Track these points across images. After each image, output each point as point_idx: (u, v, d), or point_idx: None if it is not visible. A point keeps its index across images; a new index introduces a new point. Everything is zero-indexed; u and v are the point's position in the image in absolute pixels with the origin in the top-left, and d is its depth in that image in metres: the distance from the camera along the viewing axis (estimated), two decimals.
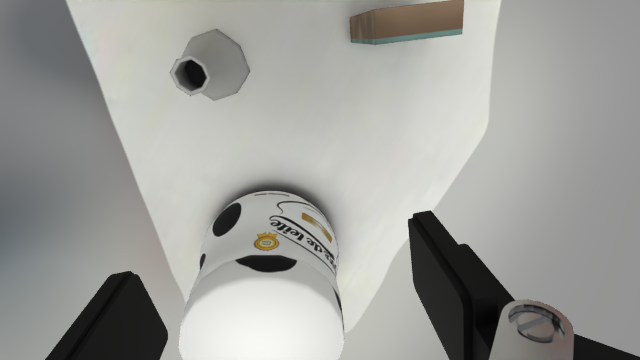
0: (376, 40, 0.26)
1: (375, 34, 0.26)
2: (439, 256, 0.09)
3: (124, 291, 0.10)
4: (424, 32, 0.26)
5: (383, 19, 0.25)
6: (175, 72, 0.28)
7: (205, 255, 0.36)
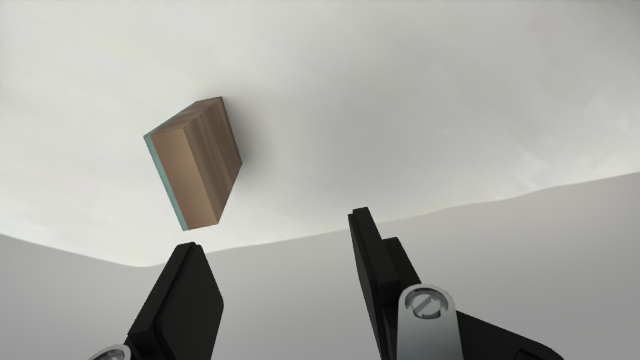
0: (148, 136, 0.20)
1: (155, 133, 0.20)
2: (363, 247, 0.09)
3: (192, 258, 0.11)
4: (173, 191, 0.22)
5: (174, 141, 0.20)
6: None
7: None
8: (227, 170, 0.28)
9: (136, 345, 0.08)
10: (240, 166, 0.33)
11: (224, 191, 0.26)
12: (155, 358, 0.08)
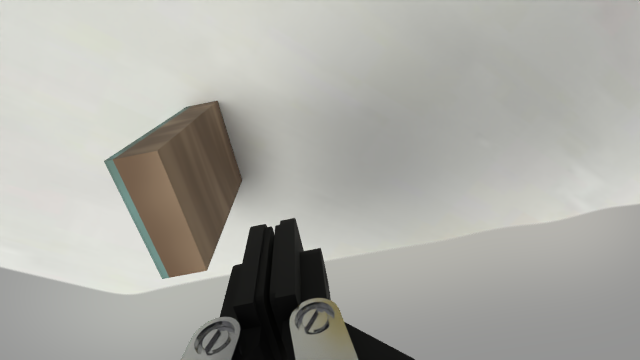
0: (111, 161, 0.15)
1: (121, 157, 0.15)
2: (276, 260, 0.10)
3: None
4: (147, 230, 0.17)
5: (146, 167, 0.15)
6: None
7: None
8: (222, 193, 0.23)
9: (240, 317, 0.08)
10: (240, 183, 0.28)
11: (217, 222, 0.21)
12: (257, 330, 0.08)
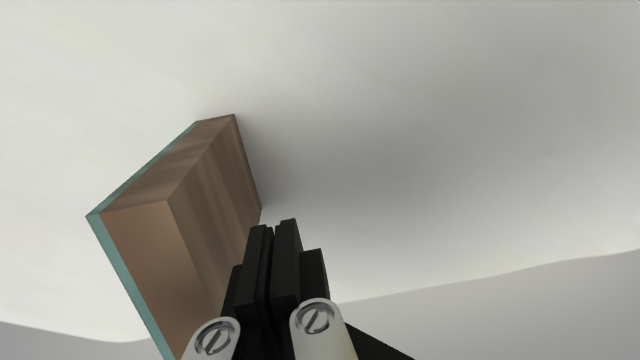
0: (96, 216, 0.10)
1: (111, 210, 0.10)
2: (276, 260, 0.10)
3: None
4: (150, 309, 0.11)
5: (150, 224, 0.10)
6: None
7: None
8: (244, 235, 0.18)
9: (240, 317, 0.08)
10: (260, 214, 0.23)
11: None
12: (257, 330, 0.08)
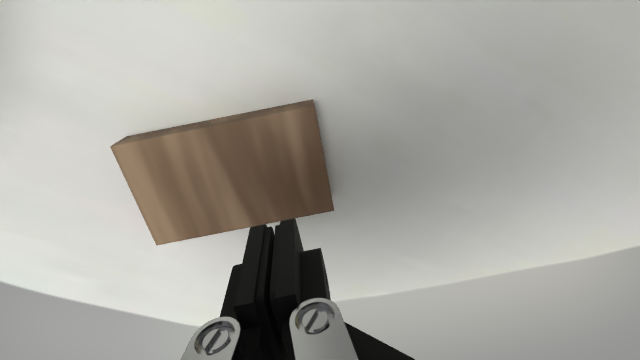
0: (128, 136, 0.21)
1: (126, 137, 0.21)
2: (276, 260, 0.10)
3: None
4: None
5: None
6: None
7: None
8: (241, 206, 0.21)
9: (240, 318, 0.08)
10: (320, 212, 0.22)
11: (206, 224, 0.21)
12: (257, 330, 0.08)
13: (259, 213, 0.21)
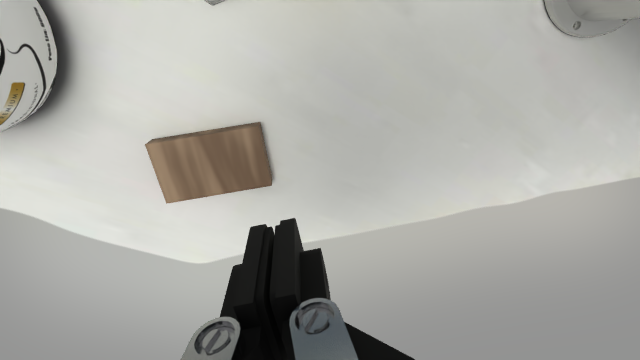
0: (153, 139, 0.36)
1: (152, 140, 0.36)
2: (276, 260, 0.10)
3: None
4: None
5: None
6: None
7: None
8: (217, 181, 0.37)
9: (240, 317, 0.08)
10: (263, 186, 0.38)
11: (196, 191, 0.37)
12: (257, 330, 0.08)
13: (228, 185, 0.37)
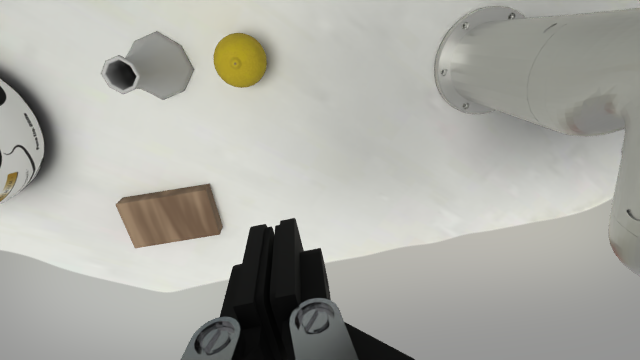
0: None
1: (122, 198, 0.45)
2: (276, 260, 0.10)
3: None
4: None
5: None
6: (120, 59, 0.30)
7: None
8: (175, 231, 0.45)
9: (240, 318, 0.08)
10: None
11: (158, 239, 0.46)
12: (257, 330, 0.08)
13: (184, 234, 0.46)
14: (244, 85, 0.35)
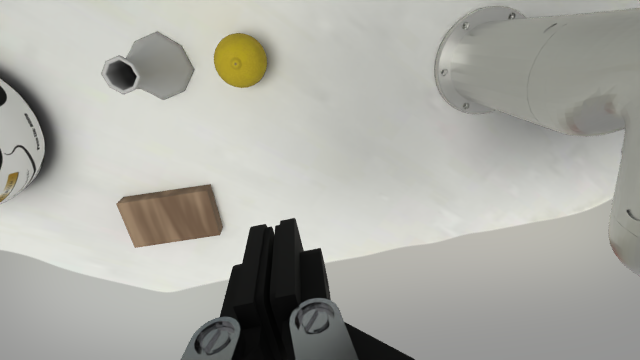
0: None
1: (123, 198, 0.45)
2: (276, 260, 0.10)
3: None
4: None
5: None
6: None
7: None
8: (175, 231, 0.46)
9: (240, 318, 0.08)
10: (213, 235, 0.46)
11: (158, 238, 0.46)
12: (257, 330, 0.08)
13: (184, 234, 0.46)
14: (244, 85, 0.35)
